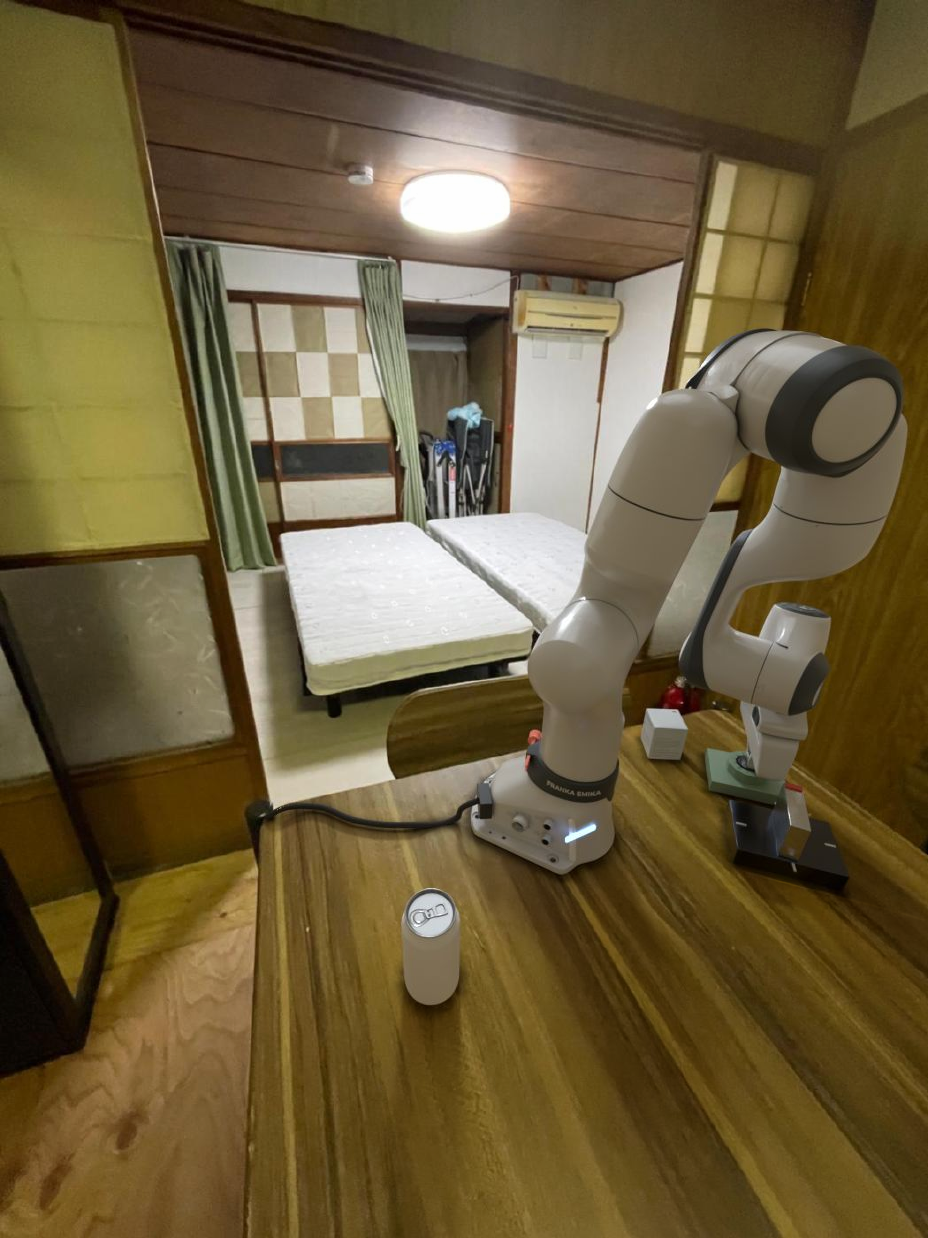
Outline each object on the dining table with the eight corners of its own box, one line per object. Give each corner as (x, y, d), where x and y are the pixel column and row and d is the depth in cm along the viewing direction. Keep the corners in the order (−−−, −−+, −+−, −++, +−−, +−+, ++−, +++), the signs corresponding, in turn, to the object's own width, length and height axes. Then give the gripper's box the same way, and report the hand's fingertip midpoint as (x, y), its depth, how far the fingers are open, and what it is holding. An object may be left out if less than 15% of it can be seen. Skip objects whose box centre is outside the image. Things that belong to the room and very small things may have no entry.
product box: (639, 737, 101) (645, 707, 97) (671, 739, 100) (678, 708, 97) (647, 759, 95) (654, 727, 92) (681, 761, 95) (689, 729, 92)
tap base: (734, 872, 74) (739, 856, 73) (723, 805, 85) (728, 791, 84) (846, 901, 70) (854, 886, 69) (819, 828, 81) (826, 813, 80)
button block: (709, 790, 88) (714, 772, 86) (704, 757, 96) (709, 740, 94) (787, 808, 85) (794, 790, 83) (776, 772, 93) (782, 754, 91)
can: (398, 961, 62) (393, 896, 57) (448, 941, 64) (448, 877, 59) (413, 1017, 57) (410, 951, 52) (467, 994, 59) (469, 928, 54)
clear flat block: (798, 861, 72) (812, 830, 69) (778, 855, 73) (790, 823, 70) (790, 816, 79) (803, 785, 77) (772, 810, 80) (784, 780, 78)
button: (737, 775, 88) (739, 767, 88) (734, 761, 91) (736, 753, 91) (760, 780, 87) (762, 772, 86) (756, 766, 90) (759, 758, 90)
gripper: (742, 662, 92) (724, 724, 98) (762, 730, 75) (738, 800, 81) (781, 668, 90) (761, 731, 96) (811, 739, 73) (783, 810, 79)
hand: (751, 763), depth 88 cm, fingers closed, pressing on button
